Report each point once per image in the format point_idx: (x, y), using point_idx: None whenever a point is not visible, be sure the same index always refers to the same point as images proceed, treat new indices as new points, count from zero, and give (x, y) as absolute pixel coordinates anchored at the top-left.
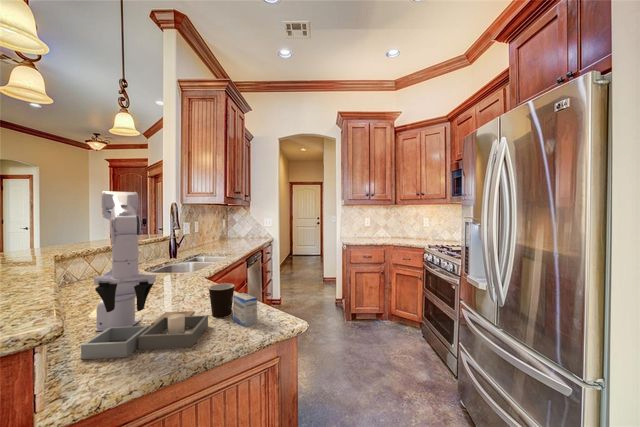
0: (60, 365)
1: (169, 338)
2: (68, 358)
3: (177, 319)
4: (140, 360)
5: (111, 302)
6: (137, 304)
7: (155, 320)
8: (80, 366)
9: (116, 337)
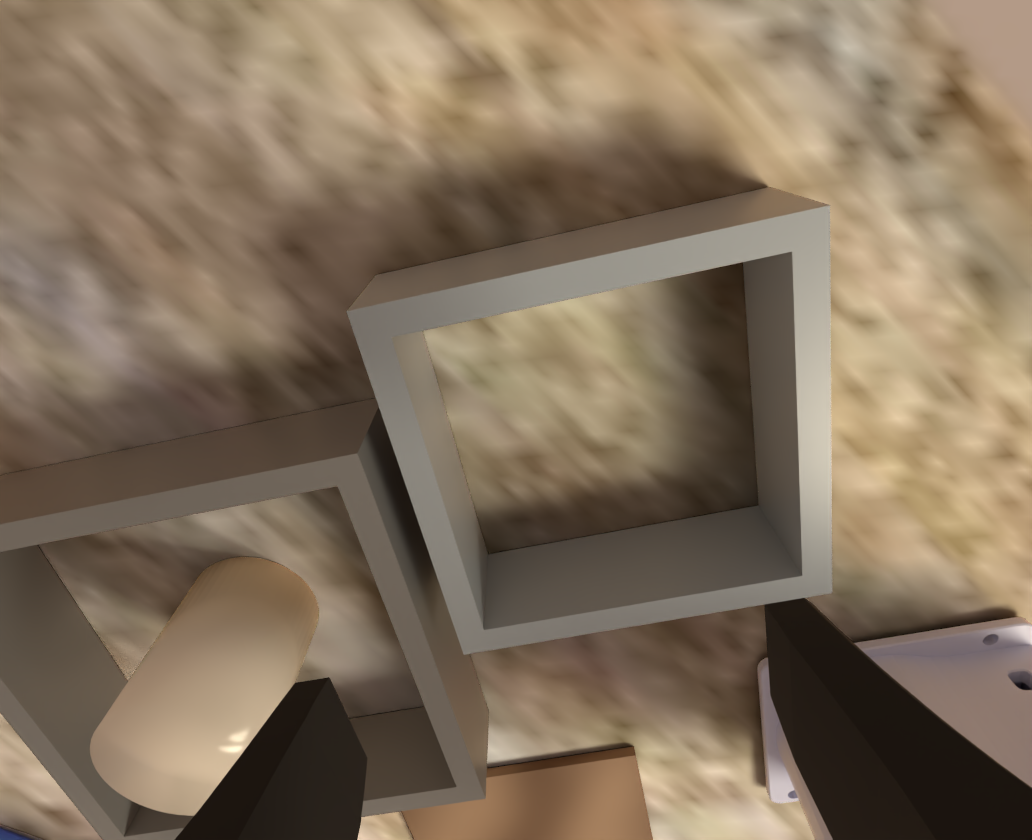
0: (880, 56)
1: (86, 491)
2: (904, 187)
3: (107, 715)
4: (196, 236)
5: (837, 784)
6: (259, 772)
7: (636, 793)
8: (664, 64)
9: (722, 528)
